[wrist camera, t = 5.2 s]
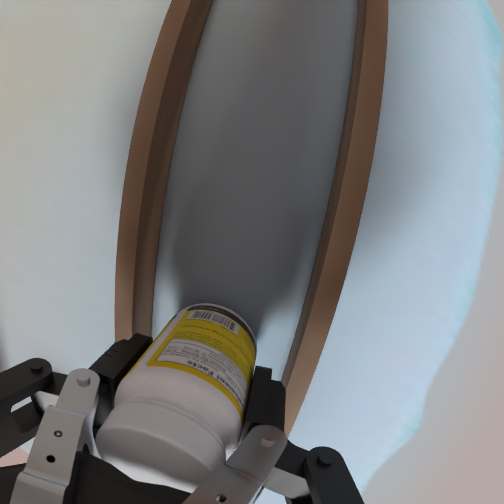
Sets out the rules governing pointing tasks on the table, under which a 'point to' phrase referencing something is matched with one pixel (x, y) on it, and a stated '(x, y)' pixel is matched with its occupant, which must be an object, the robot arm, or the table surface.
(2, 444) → the robot arm
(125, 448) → the supplement bottle
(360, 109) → the guide track
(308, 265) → the table surface
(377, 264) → the table surface
